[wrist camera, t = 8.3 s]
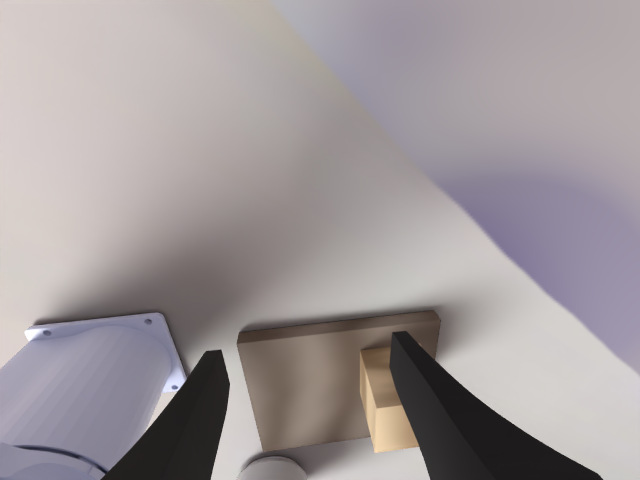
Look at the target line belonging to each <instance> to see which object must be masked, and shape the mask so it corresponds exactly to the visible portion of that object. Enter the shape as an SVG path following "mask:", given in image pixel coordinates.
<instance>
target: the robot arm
mask: <svg viewBox="0 0 640 480" xmlns="http://www.w3.org/2000/svg"><path fill="white" fill-rule="evenodd" d="M147 319H150V320H151V321H149V320H147ZM25 335H26V337H27V338H28V340H29V341H30V342H29V343H28V344H27V345H26V346H24V347H23V348H22V349H21V350H20V351H19V352H18V353H17V354H16V355H15V356H14V357H13V358H12V359H11V360H9V361H8V362H7V363H6V364H5V365H4V366H3V367H2V368H1V369H0V480H211V475H212V470H213V466H214V462H215V458H216V454H217V450H218V445H219V441H220V437H221V433H222V429H223V424H224V420H225V416H226V411H227V404H228V397H229V388H230V382H229V378H228V374H227V370H226V366H225V362H224V358H223V354H222V350H213V351H206V352H205V353H204V354H203V356H202V357H201V359H200V360H199V362H198V363H197V365H196V366H195V368H194V369H193V371H192V372H191V374H190V375H189V377H188V378H187V377H186V375H185V372H184V369H183V367H182V364H181V361H180V358H179V356H178V353H177V350H176V348H175V345H174V342H173V340H172V337H171V334H170V331H169V329H168V326H167V323H166V321H165V318H164V316H163V315H162V314H160V313H147V314H138V315H128V316H119V317H110V318H101V319H92V320H82V321H73V322H64V323H55V324H46V325H36V326H31V327H29V328H28V329H27V330H26V331H25ZM389 368H390V371H391V375H392V378H393V382H394V385H395V388H396V391H397V394H398V396H399V399H400V401H401V404H402V406H403V409H404V411H405V413H406V416H407V418H408V421H409V423H410V425H411V428H412V430H413V432H414V435H415V437H416V440H417V442H418V444H419V447H420V450H421V452H422V455H423V458H424V461H425V464H426V467H427V470H428V473H429V476H430V479H431V480H603V479H602V478H601V477H600V476H599V474H597V473H595V472H594V471H592V470H590V469H588V468H586V467H584V466H583V465H581V464H579V463H577V462H575V461H573V460H571V459H570V458H568V457H566V456H564V455H562V454H560V453H559V452H557V451H555V450H554V449H552V448H550V447H549V446H547V445H545V444H544V443H542V442H540V441H539V440H537V439H535V438H534V437H532V436H531V435H529V434H527V433H526V432H524V431H523V430H521V429H520V428H518V427H517V426H515V425H514V424H512V423H511V422H509V421H508V420H506V419H505V418H503V417H502V416H501V415H499V414H498V413H496V412H495V411H494V410H492V409H491V408H490V407H488V406H487V405H486V404H484V403H483V402H482V401H480V400H479V399H478V398H477V397H475V396H474V395H473V394H472V393H470V392H469V391H468V390H467V389H466V388H465V387H463V386H462V385H461V384H460V383H459V382H458V381H457V380H455V379H454V378H453V377H452V376H451V375H450V374H449V373H448V372H447V371H446V370H445V369H444V368H442V367H441V366H440V365H439V364H438V363H437V362H436V361H435V360H434V359H433V358H432V357H431V356H430V355H429V354H428V353H427V352H426V351H425V350H424V349H423V348H422V347H421V346H420V345H419V344H418V342H417V341H416V340H415V339H414V338H413V337H412V336H411V335H410V334H409V333H408V332H407V331H399V332H392V340H391V351H390V363H389ZM173 391H178V392H177V393H176V394H175V396H174V397H173V399H172V400H171V401H170V402H169V404H168V405H167V406H166V408H165V409H164V410H163V411H162V413H161V414H160V415H159V416H158V418H157V419H156V420H155V421H154V422H153V424H152V425H151V426H150V427H149V428H148V430H147V431H146V428H147V426H148V424H149V421H150V419H151V417H152V414H153V412H154V410H155V407H156V405H157V403H158V400H159V398H160V396H161V394H162V393H165V392H173ZM145 431H146V432H145Z"/></svg>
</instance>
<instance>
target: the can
mask: <svg viewBox="0 0 640 480" xmlns="http://www.w3.org/2000/svg"><path fill="white" fill-rule="evenodd" d="M236 480H307V478H306V473H305V472H304V471H303V469H302V468H301V467H300V466H298V465H297V464H296V462H295V461H293V460H291V459H289V458H285V457H281V456H270V457H263V458H261V459H258V460H255V461H254V462H252V463H251V464H249V465H248V466H247V468H246V469H244V470H243V471H242V472H241V473H240V474H239V476H238V477H237V479H236Z"/></svg>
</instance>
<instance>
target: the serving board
mask: <svg viewBox="0 0 640 480" xmlns="http://www.w3.org/2000/svg"><path fill="white" fill-rule="evenodd" d="M440 322H441V320H440V318H439V317H438V315H437V314H436V312H435V311H434V310H432V311H424V312H415V313H406V314H398V315H389V316H380V317H371V318H363V319H354V320H345V321H336V322H328V323H319V324H310V325H302V326H293V327H284V328H275V329H267V330H258V331H249V332H241V333H239V335H238V340H237V347H238V351H239V355H240V360H241V364H242V368H243V372H244V376H245V380H246V384H247V388H248V392H249V396H250V400H251V404H252V408H253V412H254V416H255V421H256V425H257V429H258V433H259V437H260V441H261V445H262V449H263V452H267V451H274V450H281V449H288V448H295V447H302V446H309V445H317V444H324V443H331V442H338V441H345V440H352V439H359V438H367V437H371V435H370V431H369V427H368V423H367V419H366V415H365V410H364V406H363V402H362V398H361V394H360V350H368V349H377V348H385V347H391V340H392V332H399V331H407V332H408V333H409V334H410V335H411V336H412V337H413V338H414V339H415V340H416V341H417V342H418V343H420V344H421V346H422V348H423V349H424V350H425V351H426V352H427V353H428V354H429V355H430V356H431V357H432V358H433V359H434V360H435V355H436V348H437V342H438V335H439V329H440Z"/></svg>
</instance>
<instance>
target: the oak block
mask: <svg viewBox="0 0 640 480" xmlns="http://www.w3.org/2000/svg"><path fill="white" fill-rule="evenodd" d="M418 344H419V345H420V346H421V344H420V343H418ZM421 347H422V346H421ZM390 351H391V347H385V348H377V349H368V350H360V394H361V398H362V402H363V406H364V410H365V415H366V419H367V423H368V427H369V431H370V435H371V439H372V443H373V447H374V451H375V453H378V452H385V451H392V450H399V449H406V448H413V447H419V444H418V442H417V440H416V437H415V435H414V432H413V430H412V428H411V425H410V423H409V421H408V418H407V416H406V413H405V411H404V409H403V406H402V404H401V401H400V399H399V396H398V394H397V391H396V388H395V385H394V382H393V378H392V375H391V371H390V368H389V363H390Z"/></svg>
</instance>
